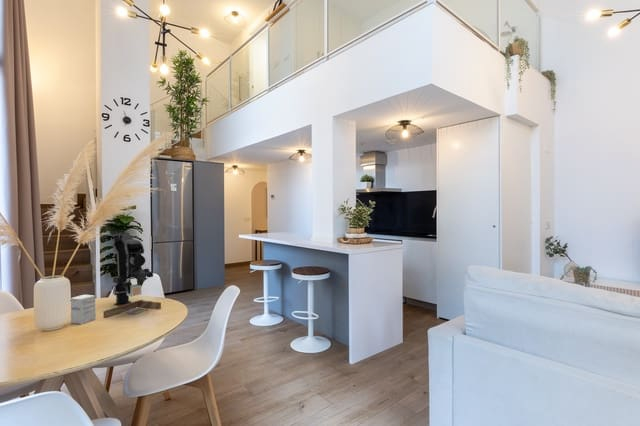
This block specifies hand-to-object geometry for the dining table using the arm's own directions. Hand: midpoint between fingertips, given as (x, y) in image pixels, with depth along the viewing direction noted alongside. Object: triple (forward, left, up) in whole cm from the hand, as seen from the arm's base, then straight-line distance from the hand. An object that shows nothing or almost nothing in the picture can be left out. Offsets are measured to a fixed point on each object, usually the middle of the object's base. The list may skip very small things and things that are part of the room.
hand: (134, 292), depth 169 cm
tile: (0, +1, -11) cm, 11 cm away
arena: (0, -1, -11) cm, 11 cm away
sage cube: (0, 0, -1) cm, 1 cm away
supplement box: (-12, -19, -11) cm, 25 cm away
